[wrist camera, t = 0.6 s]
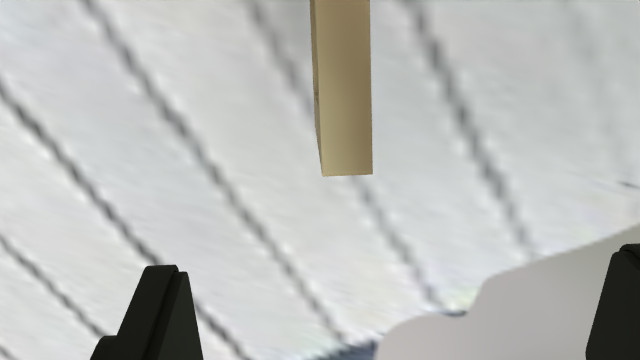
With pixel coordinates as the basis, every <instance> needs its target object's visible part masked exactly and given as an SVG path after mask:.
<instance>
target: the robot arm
mask: <svg viewBox="0 0 640 360" xmlns="http://www.w3.org/2000/svg"><path fill="white" fill-rule="evenodd" d="M90 360H203V354H202V349H201V343H200V337H199V332H198V326H197V321H196V315H195V310H194V304H193V298H192V293H191V287H190V282H189V277H188V273H187V272H179V270H178V267H177V266H176V265H156V266H147V267H146V268H145V269H144V271H143V274H142V276H141V278H140V281H139V283H138V286H137V288H136V290H135V293H134V295H133V298H132V300H131V302H130V305H129V307H128V309H127V312H126V314H125V317H124V319H123V321H122V324H121V326H120V329H119V331H118V333H117V335H113V336H104V337H102V338H101V339H100V340H99V342H98V344H97V345H96V347H95V350H94V352H93V354H92V356H91V358H90ZM586 360H640V244H626V245H623V246H622V247H621V248H620V250H619V252H615V253H614V254H613V255H612V257H611V260H610V264H609V267H608V271H607V275H606V278H605V282H604V286H603V289H602V293H601V296H600V300H599V304H598V308H597V311H596V314H595V318H594V322H593V325H592V329H591V333H590V336H589V340H588V343H587V347H586Z"/></svg>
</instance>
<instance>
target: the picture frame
mask: <svg viewBox="0 0 640 360" xmlns="http://www.w3.org/2000/svg"><path fill="white" fill-rule="evenodd" d="M310 16H311V41H312V65H313V89H314V113H315V128H316V135H317V142H318V149H319V156H320V163H321V170H322V176H345V175H368V174H373V169H372V113H371V57H370V0H310Z"/></svg>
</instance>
